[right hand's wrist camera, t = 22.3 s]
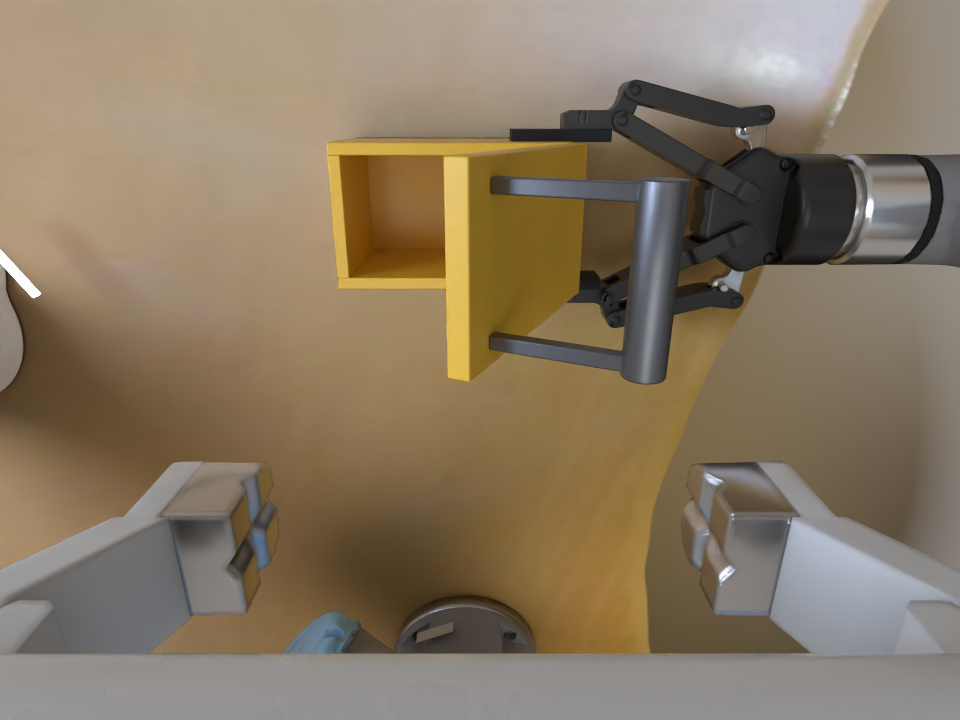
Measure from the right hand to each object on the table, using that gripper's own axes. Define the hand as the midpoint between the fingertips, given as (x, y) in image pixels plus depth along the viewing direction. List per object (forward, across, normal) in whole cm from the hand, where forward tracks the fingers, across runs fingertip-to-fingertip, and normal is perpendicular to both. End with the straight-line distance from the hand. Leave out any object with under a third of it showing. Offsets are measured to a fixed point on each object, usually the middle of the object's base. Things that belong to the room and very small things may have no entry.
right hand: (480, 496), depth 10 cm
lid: (+23, +2, 0) cm, 23 cm away
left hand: (+34, +2, 0) cm, 35 cm away
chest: (+41, -2, 0) cm, 41 cm away
